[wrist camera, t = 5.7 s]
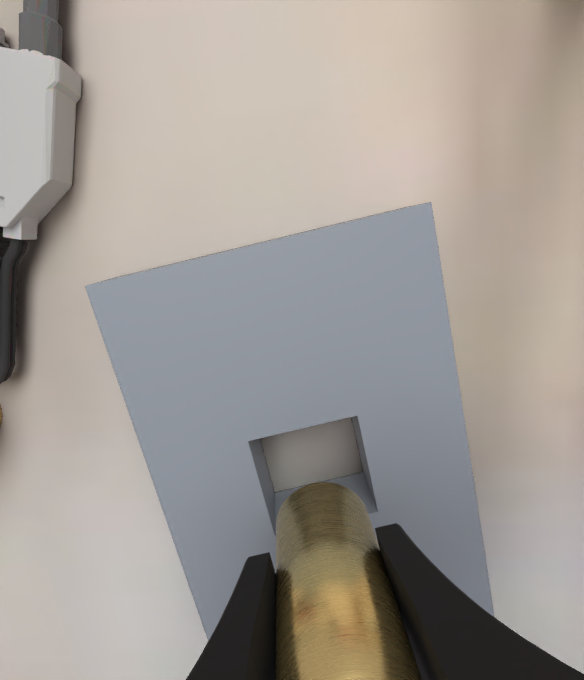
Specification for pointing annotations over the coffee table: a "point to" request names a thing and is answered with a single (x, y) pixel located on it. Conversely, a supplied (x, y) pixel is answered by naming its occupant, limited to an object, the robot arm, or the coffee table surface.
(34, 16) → the walkie-talkie
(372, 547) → the tall pin
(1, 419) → the gold domed knob
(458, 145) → the coffee table surface
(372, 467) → the grey flat block
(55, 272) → the coffee table surface
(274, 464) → the coffee table surface
